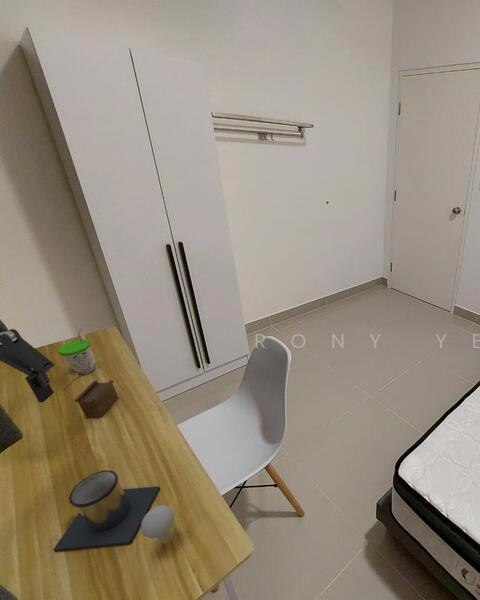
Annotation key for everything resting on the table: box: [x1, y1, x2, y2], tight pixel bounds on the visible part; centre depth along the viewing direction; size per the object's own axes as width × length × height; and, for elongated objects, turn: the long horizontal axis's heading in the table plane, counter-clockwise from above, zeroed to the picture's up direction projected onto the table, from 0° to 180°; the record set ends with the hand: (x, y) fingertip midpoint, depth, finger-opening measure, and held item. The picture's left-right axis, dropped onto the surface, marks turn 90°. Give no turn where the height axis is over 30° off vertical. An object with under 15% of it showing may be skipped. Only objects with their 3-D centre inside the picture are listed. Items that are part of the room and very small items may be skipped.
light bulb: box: [140, 504, 175, 545], centre depth 67 cm, size 5×6×10 cm
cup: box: [57, 327, 95, 376], centre depth 109 cm, size 8×8×15 cm
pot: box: [68, 469, 130, 532], centre depth 70 cm, size 8×10×8 cm
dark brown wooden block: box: [74, 379, 119, 419], centre depth 97 cm, size 5×8×7 cm, turn 8°
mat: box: [52, 485, 161, 553], centre depth 72 cm, size 14×12×1 cm
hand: (9, 398), depth 67 cm, fingers open, 13 cm apart
